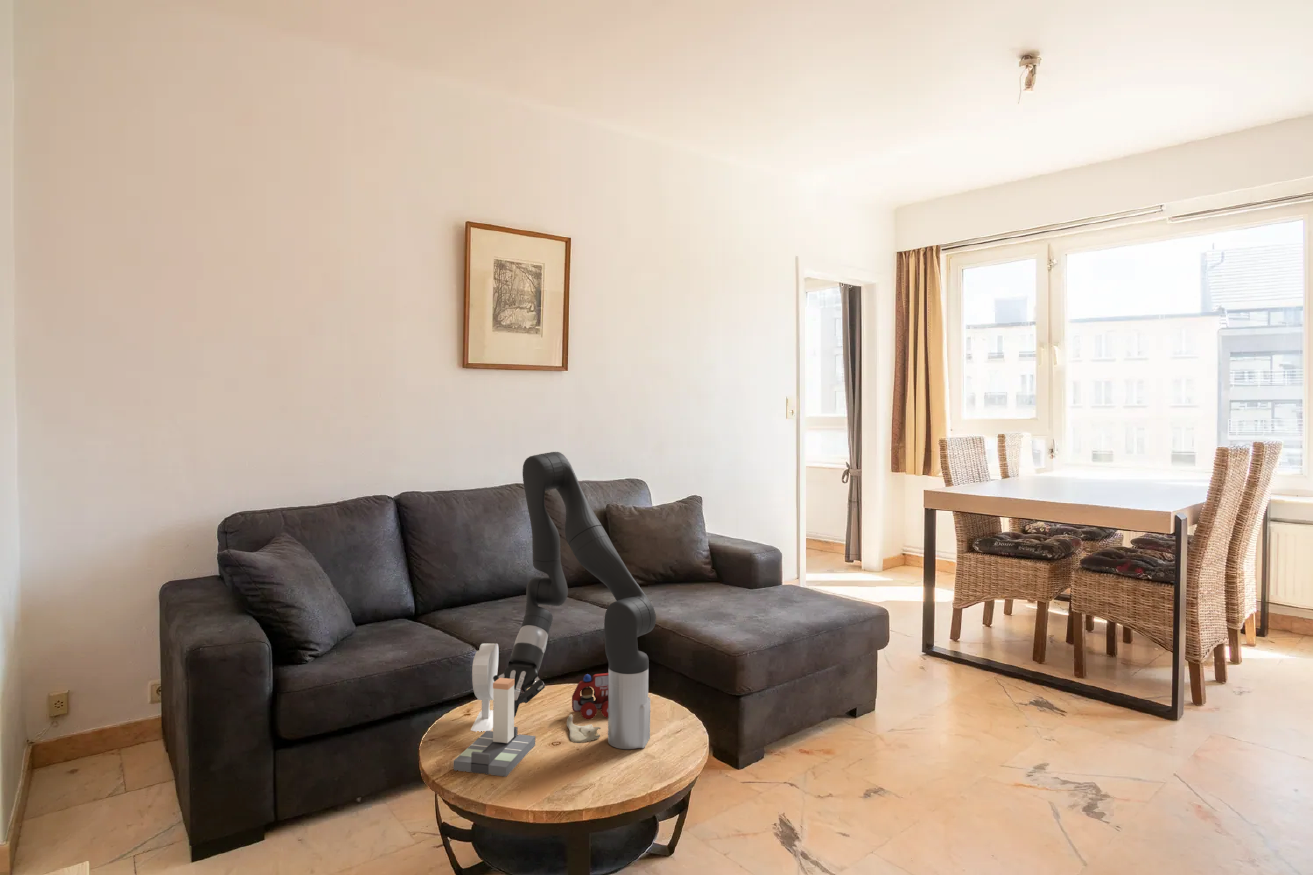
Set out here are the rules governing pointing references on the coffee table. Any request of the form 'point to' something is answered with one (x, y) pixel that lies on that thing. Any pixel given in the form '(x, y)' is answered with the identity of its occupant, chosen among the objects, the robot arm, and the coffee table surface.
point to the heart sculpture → (484, 684)
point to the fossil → (581, 731)
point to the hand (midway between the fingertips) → (507, 718)
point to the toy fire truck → (586, 700)
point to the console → (494, 754)
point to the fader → (503, 710)
